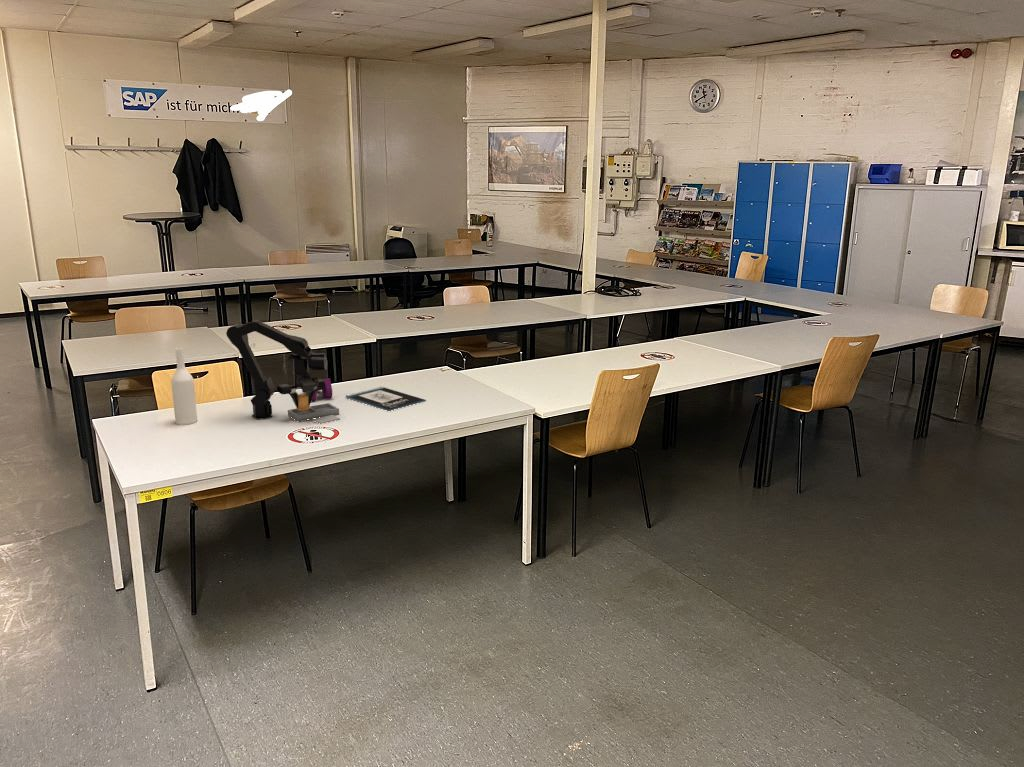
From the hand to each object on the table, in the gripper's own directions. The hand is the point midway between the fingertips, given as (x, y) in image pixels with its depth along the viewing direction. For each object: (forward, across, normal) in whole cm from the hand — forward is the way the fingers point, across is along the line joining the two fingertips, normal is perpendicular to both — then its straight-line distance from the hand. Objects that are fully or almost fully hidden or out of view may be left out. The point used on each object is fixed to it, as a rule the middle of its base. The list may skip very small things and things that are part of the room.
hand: (302, 406), depth 311 cm
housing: (+4, +4, 0) cm, 6 cm away
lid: (+5, +6, -9) cm, 12 cm away
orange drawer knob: (+1, 0, 0) cm, 1 cm away
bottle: (+5, -41, +20) cm, 45 cm away
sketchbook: (+5, +39, +4) cm, 40 cm away
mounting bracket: (+5, +16, +26) cm, 31 cm away
